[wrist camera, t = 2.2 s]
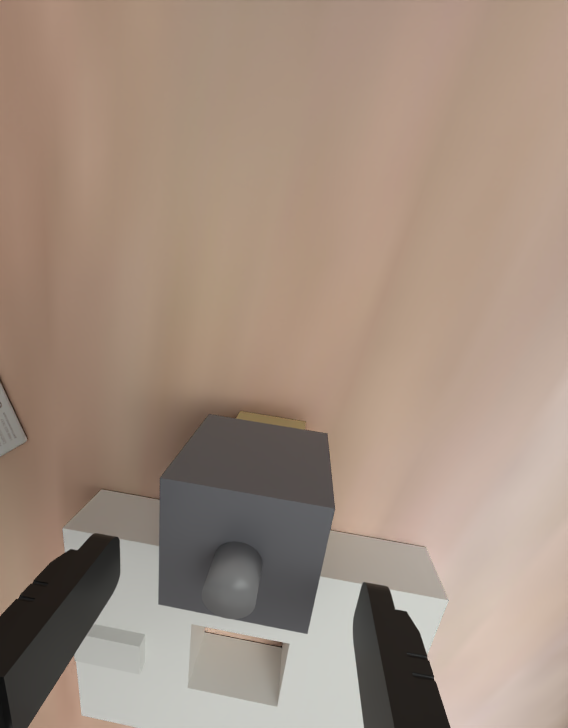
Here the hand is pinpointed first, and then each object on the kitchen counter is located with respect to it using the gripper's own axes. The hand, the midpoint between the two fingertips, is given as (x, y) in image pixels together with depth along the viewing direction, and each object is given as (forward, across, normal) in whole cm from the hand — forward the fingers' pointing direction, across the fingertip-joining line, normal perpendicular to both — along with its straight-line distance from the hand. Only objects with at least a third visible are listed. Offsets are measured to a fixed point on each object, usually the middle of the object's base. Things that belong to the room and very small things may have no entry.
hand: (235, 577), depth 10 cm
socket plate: (+8, 0, +12) cm, 15 cm away
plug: (+7, 0, 0) cm, 7 cm away
